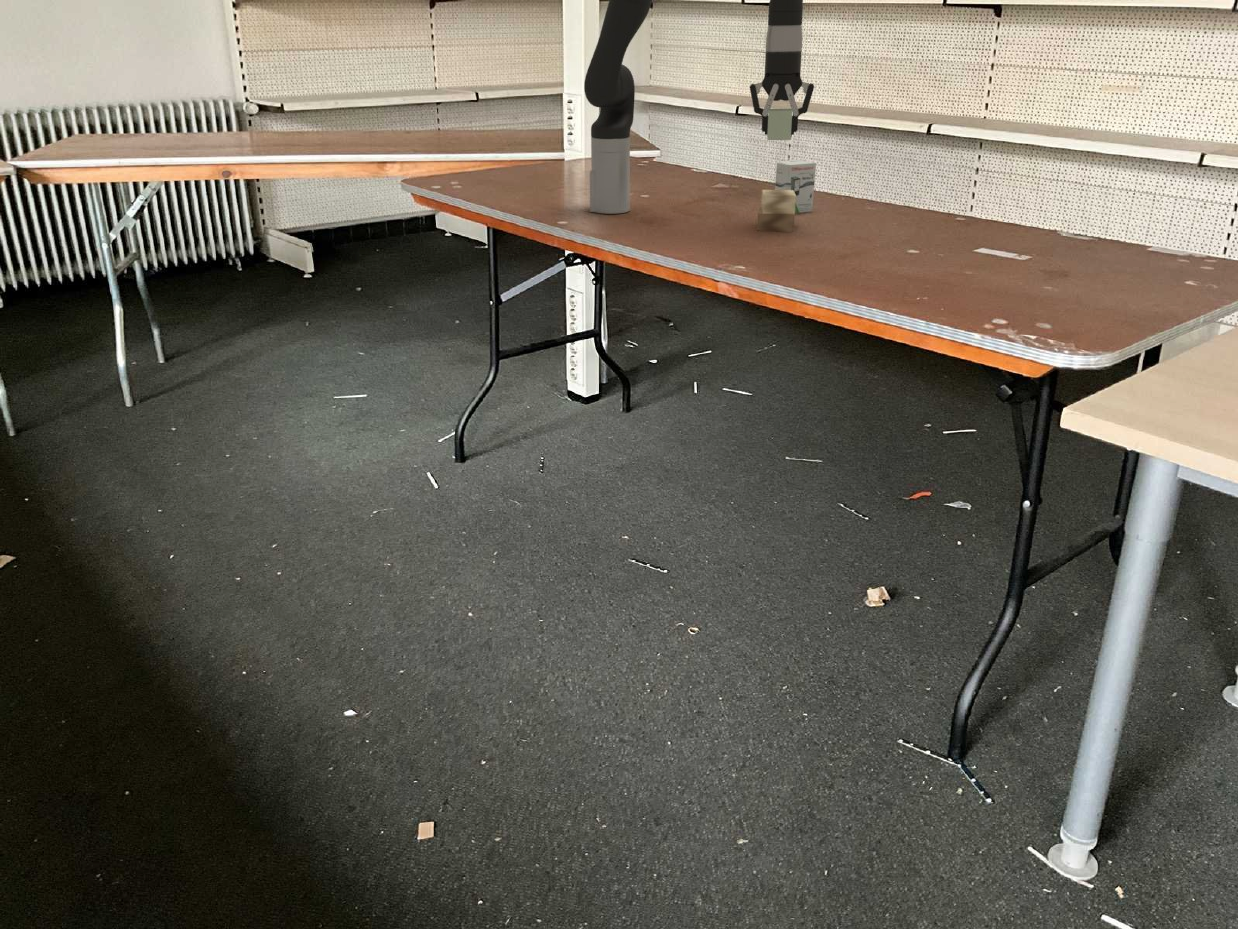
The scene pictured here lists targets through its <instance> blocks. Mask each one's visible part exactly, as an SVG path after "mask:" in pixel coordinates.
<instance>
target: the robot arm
mask: <svg viewBox="0 0 1238 929" xmlns="http://www.w3.org/2000/svg"><path fill="white" fill-rule="evenodd" d="M652 3H653V0H608V3H607V4H608V5H607V8H606V11H605V14H604V15H605V16H604V18H603V23H602V26H601V30H600V33H599V37H598V41H597V43H596V46H595V49H594V51H593V54H592V57H591V60H590V63H589V65H588V68H587V71H586V74H585V78H584V87H583V89H584V90H583V91H584V94H585V98H586V100H587V102H588V103H589V104H590V105H592V106H593V107H595V108H600V109H599V115H598V116H597V119H596V120H595V121H594V122H593V123H592V124H591V127H590V141H591V142H590V143H591V144H590V147H591V148H590V150H591V151H590V153H591V159H590V160H591V169H590V171H589V213H598V214H606V215H608V214H624V213H627V212H630V205H631V204H630V203H631V200H630V199H631V198H630V192H631V188H630V186H631V185H630V182H631V181H630V178H631V175H630V174H631V173H630V172H631V170H630V169H631V167H630V166H631V165H630V164H631V160H630V159H631V157H630V156H631V155H630V154H631V152H630V151H631V147H630V146H631V145H630V144H631V129H632V126H633V122H634V113H635V111H634V110H635V96H636V95H635V94H636V93H635V89H636V88H635V81H634V76H633V73H632V72H631V69H629V68H628V66H626V65H624V64H623V61H624V58H625V54H626V51H627V49H628V48H629V45H630V43H631V42H632V40H633V39H634V37H635V36H636V34H637V32H638V31H639V30H640V28H641V27H642V25H643V23H644V21H645V20H646V18H647V16H648V14H649V11H650V9H651V6H652ZM803 4H804V0H769V2H768V18H767V21H768V22H767V30H766V35H765V36H766V37H765V38H766V39H765V59H764V78H763V79H762V80H761V82H758V83H751V84H750V85H749V90H750V91H749V92H750V95H751V96H750V97H751V102H752V107H753V111H754V112H753V113H755V114H758V115H759V116H761V132H763V133H764V135H767V133H768V111H769V110H770V109H772V108H771V107H772V105H773V103H774V102H779V101H784V102H789V106H790V109H792V125H791V136H794V135H795V133H797V131H798V128H799V127H798V126H799V125H798V124H799V116H800V115H803V114H805V113H807V112H808V109H809V107H810V103H811V101H812V100H811V99H812V95H813V92H814V88H815V85H814V83H809V82H804V81H803V80H802V78H801V68H802V52H803V29H802V28H803V16H804V15H803V13H804V12H803V11H804V6H803ZM762 88H763V90H764V91H765V93H766V94H767V96H768V97H767V100H766V102H765V105H764V108H763V107H761V106H760V103H759V97H758V96H759V95H758V94H760V92H761V89H762ZM801 88H802V92H803V94H805V95H804V99H803V103H802V106H801V107H798V106H797V105H798V104H797V102H796V99H795V98H796V97H795V95H796V94H797V93H798V92H799V90H800V89H801Z"/></svg>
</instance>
